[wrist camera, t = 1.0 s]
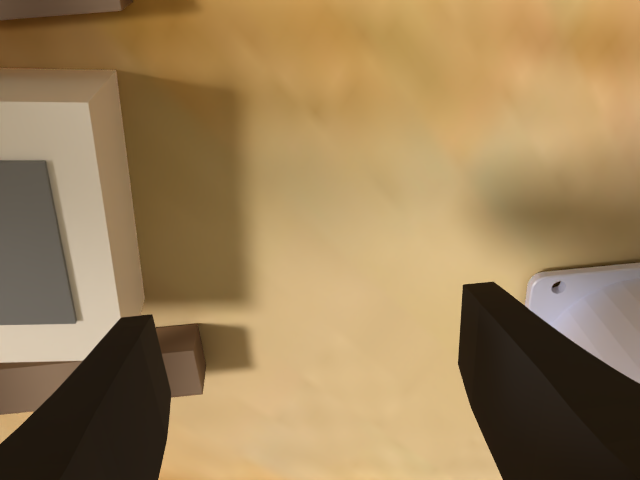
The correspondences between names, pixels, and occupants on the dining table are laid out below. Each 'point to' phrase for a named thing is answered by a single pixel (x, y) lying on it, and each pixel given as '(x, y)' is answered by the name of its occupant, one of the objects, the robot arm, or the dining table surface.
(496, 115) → the dining table surface
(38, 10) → the guide rails
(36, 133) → the block
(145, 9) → the dining table surface
